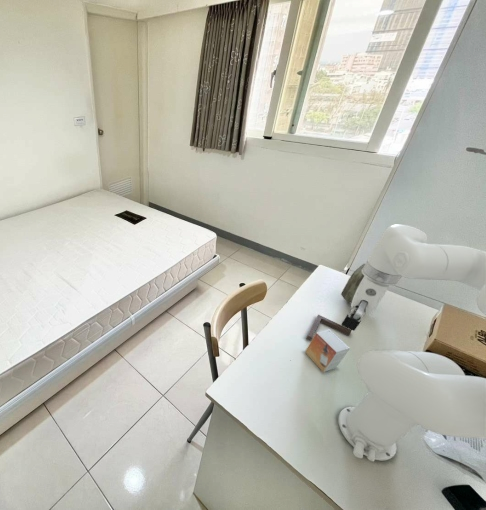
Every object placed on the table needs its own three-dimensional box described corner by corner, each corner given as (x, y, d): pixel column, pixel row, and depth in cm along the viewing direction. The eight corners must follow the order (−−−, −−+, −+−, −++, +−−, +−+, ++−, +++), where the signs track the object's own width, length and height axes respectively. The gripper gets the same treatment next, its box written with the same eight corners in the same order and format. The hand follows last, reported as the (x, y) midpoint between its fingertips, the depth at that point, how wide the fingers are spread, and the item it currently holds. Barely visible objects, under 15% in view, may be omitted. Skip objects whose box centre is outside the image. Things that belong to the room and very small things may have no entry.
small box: (304, 352, 92) (315, 332, 87) (317, 348, 94) (329, 328, 88) (323, 373, 86) (336, 352, 80) (336, 368, 88) (351, 348, 82)
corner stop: (341, 357, 91) (343, 353, 90) (305, 338, 97) (307, 335, 96) (349, 333, 99) (351, 330, 98) (316, 318, 105) (318, 314, 104)
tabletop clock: (357, 319, 105) (391, 268, 91) (333, 305, 111) (361, 255, 97) (372, 303, 112) (405, 254, 98) (349, 291, 118) (377, 243, 104)
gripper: (395, 296, 61) (360, 343, 71) (403, 263, 72) (372, 308, 82) (357, 281, 65) (329, 327, 75) (370, 252, 76) (343, 296, 86)
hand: (351, 317), depth 78 cm, fingers open, 9 cm apart
